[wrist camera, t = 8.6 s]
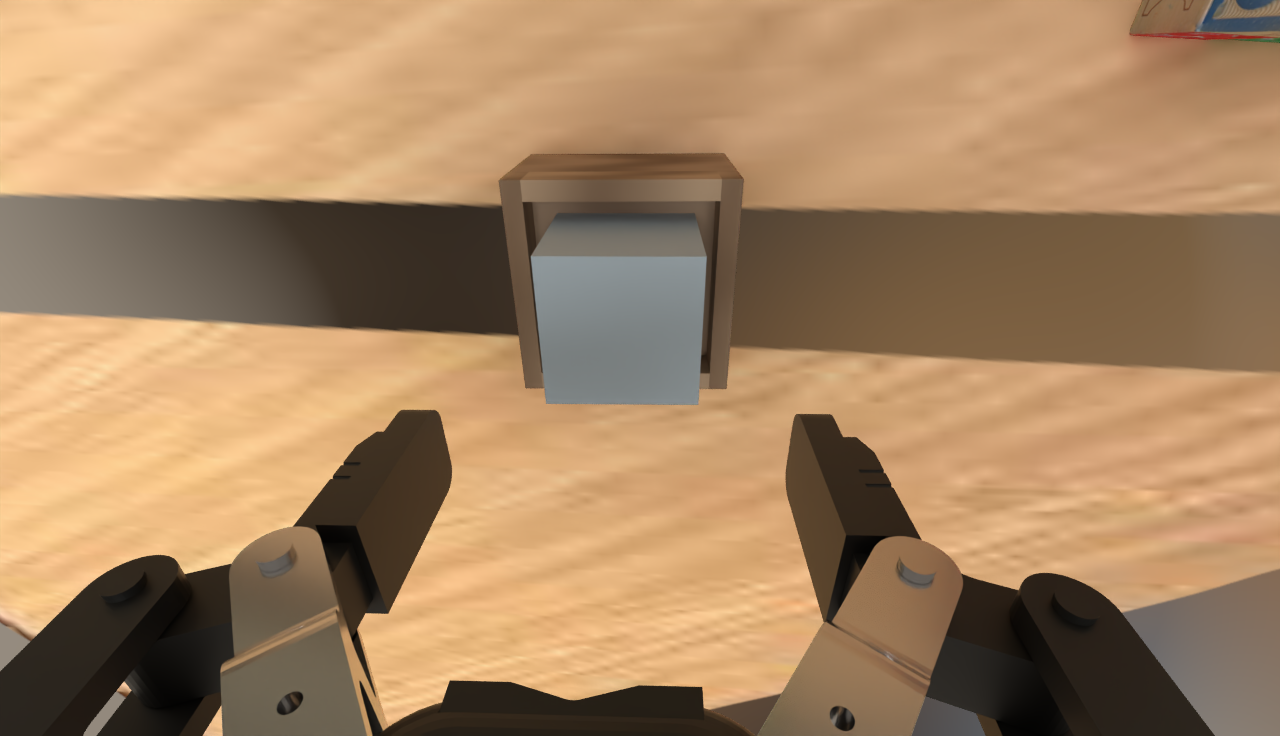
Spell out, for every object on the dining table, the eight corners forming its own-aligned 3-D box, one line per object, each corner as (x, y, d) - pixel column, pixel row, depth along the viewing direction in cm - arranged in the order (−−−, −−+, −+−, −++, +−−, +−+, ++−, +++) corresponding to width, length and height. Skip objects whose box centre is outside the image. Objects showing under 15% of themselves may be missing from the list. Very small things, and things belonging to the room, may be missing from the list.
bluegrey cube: (694, 213, 20) (706, 256, 16) (689, 337, 22) (698, 404, 18) (557, 213, 20) (530, 256, 16) (566, 336, 22) (545, 403, 18)
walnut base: (724, 153, 23) (743, 179, 18) (712, 329, 27) (726, 388, 22) (531, 154, 23) (498, 180, 18) (548, 329, 27) (525, 388, 22)
